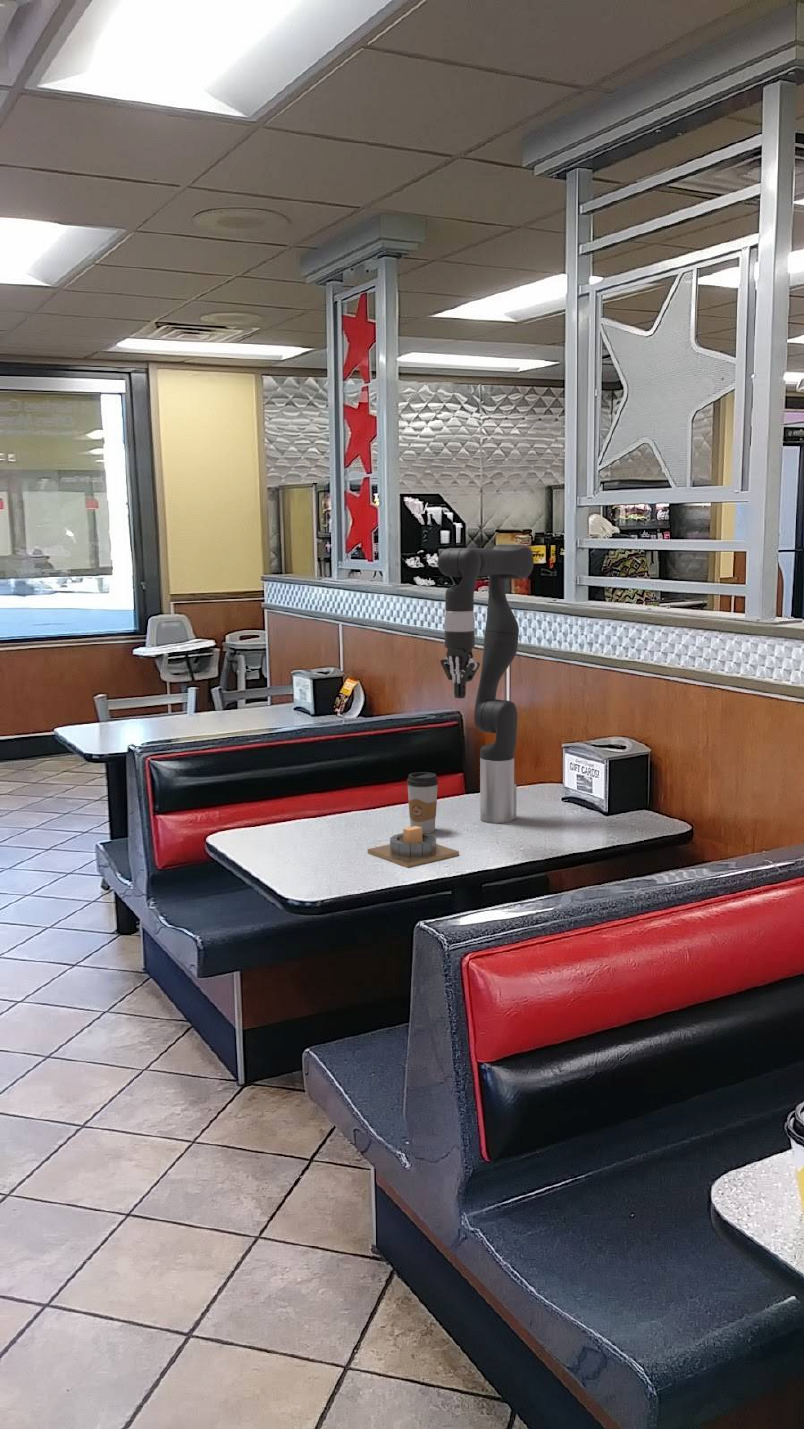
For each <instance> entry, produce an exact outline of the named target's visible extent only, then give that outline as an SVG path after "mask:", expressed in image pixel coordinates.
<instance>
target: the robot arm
mask: <svg viewBox="0 0 804 1429" xmlns="http://www.w3.org/2000/svg"><path fill="white" fill-rule="evenodd" d="M437 567H438V569H439V571H440V573H441V574H443V576H445V577H449V578H451V577H453V578H454V577H455V578H458V577H459V578H461V581H460V583H459V584H458V585H454V586H451V587H449V588H447V589H446V590H445V595H444V596H445V597H444V598H445V604H444V606H445V607H444V609H445V611H444V612H445V615H444V648H445V649H447V650H446V654H445V655H446V657H444V658H443V659H440V661H439V662H440V665H441V667H442V669H443V671H444V673H445V675H446V677H447V680H448V681H452V683H453V694H454V698H455V699H459V700H460V699H465V698H466V694H467V693H466V690H467V689H466V684H467V683H469V682H471V681H472V680H473V679H474V677H475V675H476V673H477V671H478V670H479V667H480V665H481V670H480V678H479V683H478V689H477V695H476V699H475V705H474V712H473V722H474V725H475V726H474V727H475V728H476V729H477V730H478V731H480V732H483V733H490V734H491V733H492V734H495V739H494V742H492V743H491V744H487V745H486V744H485V745H483V746H482V747H481V748H480V752H479V753H480V754H479V756H480V757H479V763H480V764H479V770H480V771H479V774H480V775H479V780H480V783H479V784H480V785H479V788H480V789H479V791H480V792H479V793H480V796H479V798H480V800H479V801H480V803H479V808H480V810H479V813H480V814H479V816H480V820H481V821H483V822H486V823H492V824H493V823H495V824H498V823H499V824H501V823H502V824H503V823H509V822H512V821H513V820H514V819H517V799H518V798H517V795H518V794H517V792H518V789H517V784H516V783H515V751H516V747H517V736H518V721H519V720H518V709H517V706H516V704H515V703H514V702H513V701H511V700H505V699H496V698H497V692H498V687H499V683H500V680H501V679H502V677H503V675H504V674H505V672H506V670H508V668H509V667H510V666H511V664H512V662H513V661H514V659H515V657H516V656H517V653H518V646H519V634H520V627H519V623H518V621H517V618H516V616H515V614H514V612H513V610H512V608H511V606H510V605H509V602H508V599H507V595H506V580H522V579H523V580H524V579H527V577H529V576H530V575H531V573H532V571H533V569H534V554H533V551H532V550H531V549H530V548H529V547H528V546H527V545H522V544H496V545H494V546H493V547H492V549H491V548H485V547H484V548H480V547H479V548H473V547H449V548H448V547H447V548H445V549H444V550H442V551H441V552H440V554H439V555H438V558H437ZM486 576H488V596H487V597H488V601H487V611H486V621H485V627H484V628H485V629H484V637H483V651H482V661H481V664H480V662H478V661H477V662H476V661H475V660H474V654H473V648H475V645H476V643H475V641H476V635H475V633H476V632H475V630H476V629H475V628H476V623H475V622H476V621H475V612H474V610H475V609H474V608H475V607H474V606H475V605H474V598H475V597H474V595H475V591H476V586H477V581H478V577H486Z"/></svg>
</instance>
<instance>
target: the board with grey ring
mask: <svg viewBox="0 0 804 1429" xmlns="http://www.w3.org/2000/svg"><path fill="white" fill-rule="evenodd" d="M389 841H390V842H389V844H386V845H385V844H383V845H380V846H376V847H375V846H374V847H371V848H367V854H369V855H373V856H374V857H378V858H381V859H383V860H386V861H388V862H391V863H394V864H396V865H399V866H403V867H404V868H411V867H416V866H419V865H424V864H429V863H433V862H437V861H441V860H442V861H443V860H445V859H450V858H453V857H457V856H458V857H459V856H460V850H457V849H453V848H449V847H447V846H443V845H441V844H438V843H437V838H436V836H435V835H433V834H429V833H422V842H420V843H406V842H403V832H402V833H397V834H394V835H392V836H391V837H389Z"/></svg>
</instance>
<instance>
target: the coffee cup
mask: <svg viewBox="0 0 804 1429" xmlns="http://www.w3.org/2000/svg"><path fill="white" fill-rule="evenodd" d="M406 781H407V782H406V784H407V785H406V786H407V795H408V796H407V797H408V800H407V801H408V812H409V823H410V827H413V826H418V827H421V828H422V833H426V834H429V833H433V832H434V830H435V827H436V817H437V805H438V803H437V802H438V799H437V797H438V785H439V782H438V781H439V779H438V777H437V774H436V773H433V772H427V771H426V772H423V771H422V772H421V771H419V772H412V773H409V774H408V778H407V779H406Z"/></svg>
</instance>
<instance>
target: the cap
mask: <svg viewBox="0 0 804 1429" xmlns="http://www.w3.org/2000/svg"><path fill="white" fill-rule="evenodd" d="M402 829H403V830H402V831H403V832H402V833H403V842H406V843H420V842H422V828H421V827H418V826H413V827H411V826H409V827H405V828H402Z"/></svg>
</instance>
